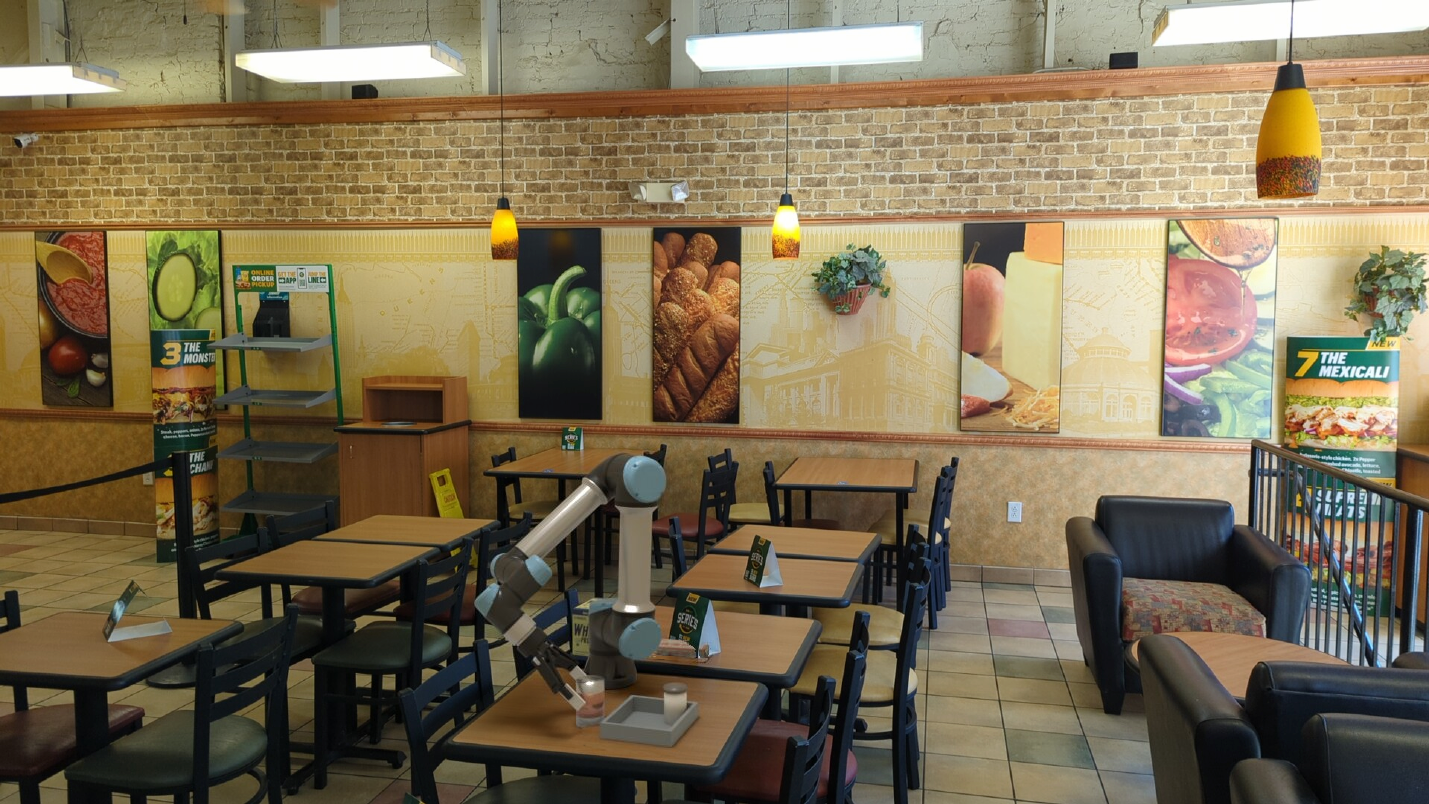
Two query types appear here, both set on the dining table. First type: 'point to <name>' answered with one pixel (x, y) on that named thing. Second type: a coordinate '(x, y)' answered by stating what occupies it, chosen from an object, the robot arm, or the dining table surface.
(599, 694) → the clear orange banded jar
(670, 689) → the cup lid
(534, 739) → the dining table surface
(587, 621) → the protein box
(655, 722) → the grey tray
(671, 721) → the capped white cylinder
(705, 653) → the packaged product
